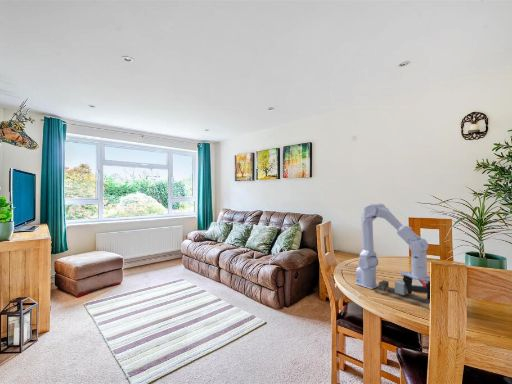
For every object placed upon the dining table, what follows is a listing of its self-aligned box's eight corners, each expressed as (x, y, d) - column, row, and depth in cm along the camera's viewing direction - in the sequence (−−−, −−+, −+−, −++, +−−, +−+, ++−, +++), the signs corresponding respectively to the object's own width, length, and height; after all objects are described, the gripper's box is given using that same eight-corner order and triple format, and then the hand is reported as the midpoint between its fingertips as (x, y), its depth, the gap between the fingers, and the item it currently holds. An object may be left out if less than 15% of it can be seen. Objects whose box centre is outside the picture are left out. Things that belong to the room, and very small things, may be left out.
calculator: (411, 284, 122) (403, 273, 136) (411, 293, 122) (403, 281, 136) (437, 287, 118) (426, 275, 132) (437, 295, 118) (426, 283, 132)
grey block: (394, 292, 115) (394, 281, 115) (399, 289, 119) (399, 279, 119) (403, 295, 112) (403, 284, 112) (408, 292, 115) (408, 281, 115)
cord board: (374, 292, 121) (374, 283, 121) (384, 287, 127) (384, 278, 127) (434, 311, 101) (434, 300, 101) (442, 304, 107) (442, 294, 107)
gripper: (397, 263, 113) (398, 293, 113) (434, 271, 101) (435, 304, 101) (404, 261, 117) (404, 289, 117) (440, 268, 106) (441, 299, 105)
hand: (419, 296), depth 109 cm, fingers open, 7 cm apart
